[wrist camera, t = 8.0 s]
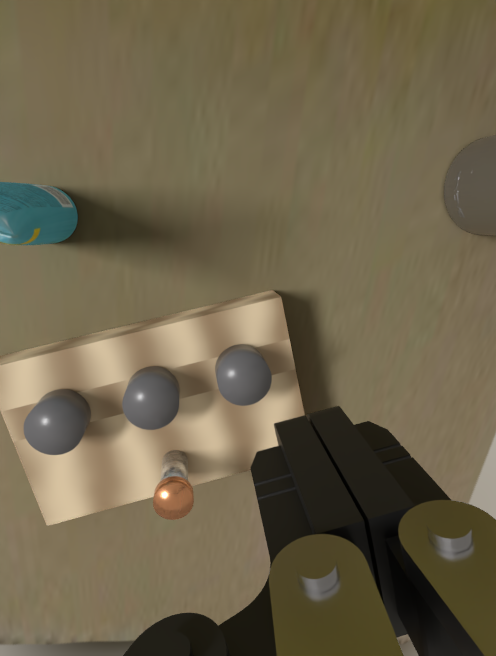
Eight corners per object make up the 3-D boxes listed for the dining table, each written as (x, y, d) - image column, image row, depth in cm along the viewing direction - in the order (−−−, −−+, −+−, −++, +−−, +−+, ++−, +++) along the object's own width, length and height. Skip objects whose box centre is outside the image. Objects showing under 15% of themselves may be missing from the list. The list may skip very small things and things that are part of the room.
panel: (272, 290, 43) (281, 296, 39) (301, 433, 47) (312, 452, 43) (2, 355, 40) (-17, 369, 37) (58, 499, 45) (47, 525, 41)
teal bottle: (2, 234, 38) (-169, 248, 20) (7, 177, 37) (-170, 134, 19) (91, 250, 39) (8, 277, 21) (97, 195, 38) (16, 172, 20)
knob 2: (253, 328, 43) (265, 348, 36) (262, 371, 44) (276, 398, 37) (207, 340, 42) (211, 361, 36) (218, 383, 44) (224, 411, 37)
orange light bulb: (187, 442, 41) (187, 480, 35) (195, 471, 42) (197, 513, 36) (153, 451, 40) (148, 491, 35) (162, 480, 41) (159, 524, 35)
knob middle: (173, 348, 42) (171, 371, 36) (185, 391, 43) (185, 421, 37) (126, 360, 42) (115, 386, 35) (139, 403, 43) (131, 436, 36)
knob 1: (90, 369, 41) (73, 396, 35) (105, 412, 43) (90, 446, 36) (42, 381, 41) (15, 411, 34) (58, 424, 42) (34, 461, 36)
